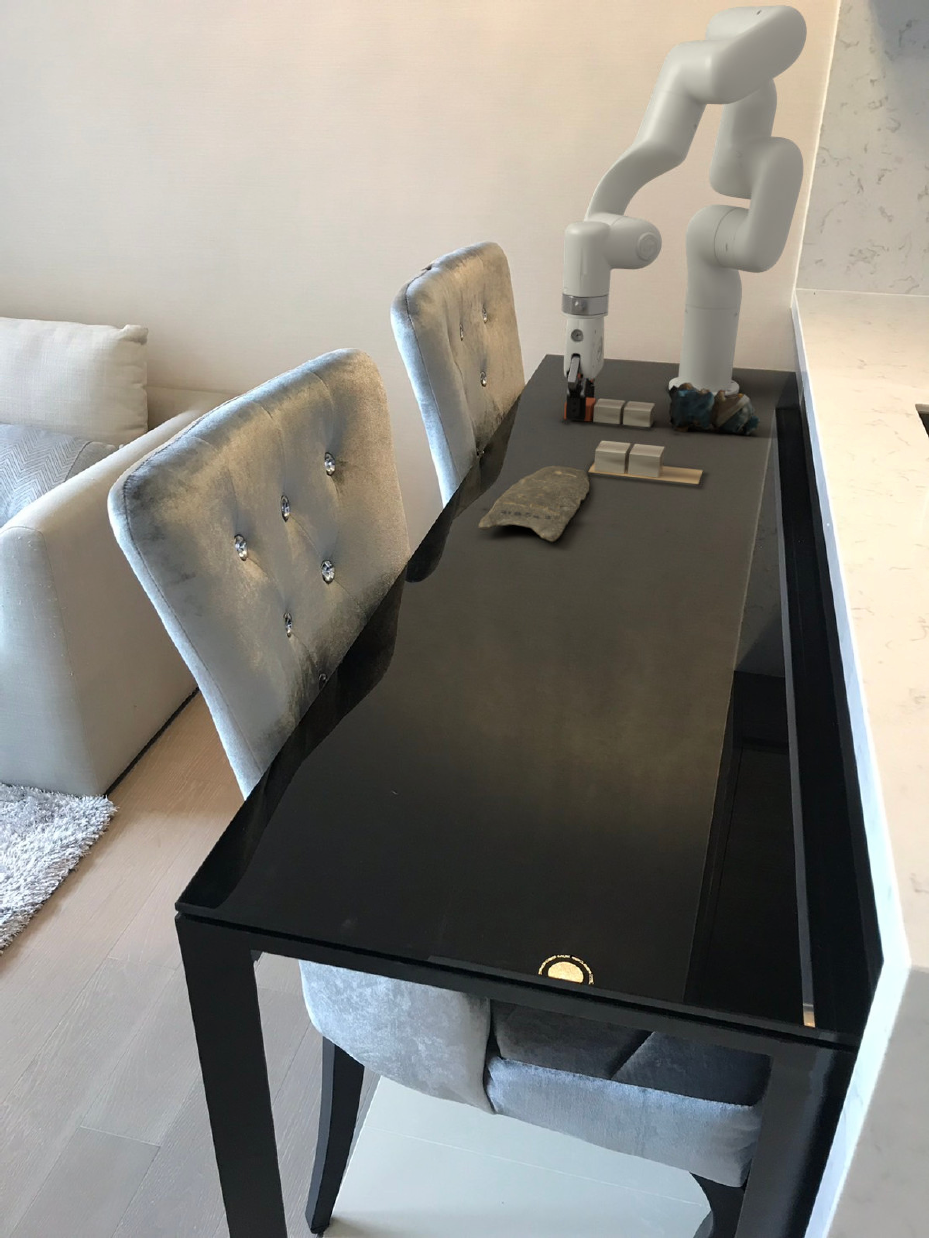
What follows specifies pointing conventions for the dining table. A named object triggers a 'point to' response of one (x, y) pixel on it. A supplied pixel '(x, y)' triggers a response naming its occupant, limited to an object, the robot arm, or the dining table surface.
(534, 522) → the stone tool
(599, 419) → the beige grey short block
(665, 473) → the board
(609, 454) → the pale grey block
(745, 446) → the dining table surface
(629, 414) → the pale grey block
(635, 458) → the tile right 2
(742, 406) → the blue brown rough lump
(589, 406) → the orange block
